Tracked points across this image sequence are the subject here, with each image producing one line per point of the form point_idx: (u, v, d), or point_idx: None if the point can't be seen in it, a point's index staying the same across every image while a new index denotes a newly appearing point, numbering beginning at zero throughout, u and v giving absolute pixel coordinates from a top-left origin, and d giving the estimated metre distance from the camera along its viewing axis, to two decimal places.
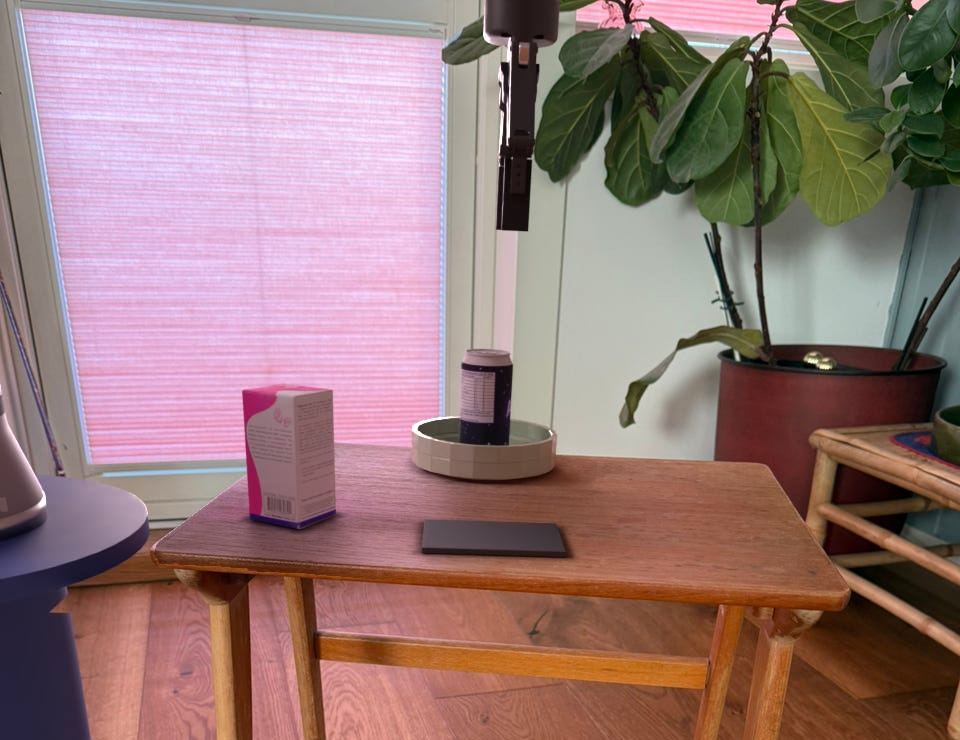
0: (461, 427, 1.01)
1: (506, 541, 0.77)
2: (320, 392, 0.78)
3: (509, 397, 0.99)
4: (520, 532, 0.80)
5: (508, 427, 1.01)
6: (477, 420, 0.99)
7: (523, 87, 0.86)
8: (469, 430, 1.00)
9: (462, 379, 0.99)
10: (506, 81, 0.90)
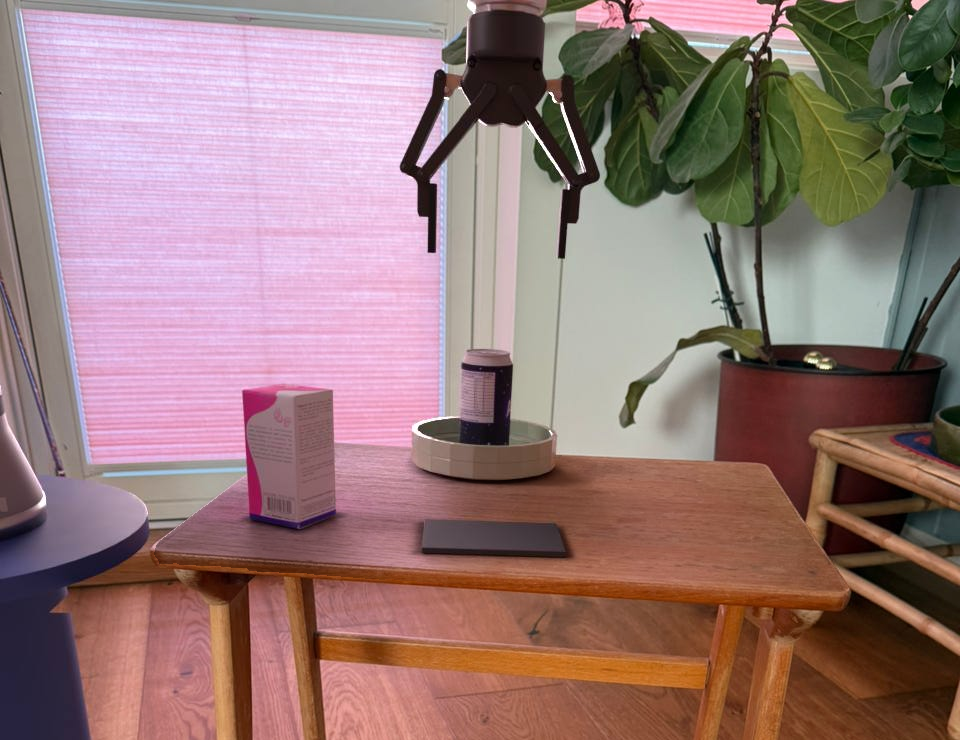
0: (461, 427, 1.01)
1: (506, 541, 0.77)
2: (320, 392, 0.78)
3: (509, 397, 0.99)
4: (520, 532, 0.80)
5: (508, 427, 1.01)
6: (477, 420, 0.99)
7: None
8: (469, 430, 1.00)
9: (462, 379, 0.99)
10: (535, 108, 0.89)
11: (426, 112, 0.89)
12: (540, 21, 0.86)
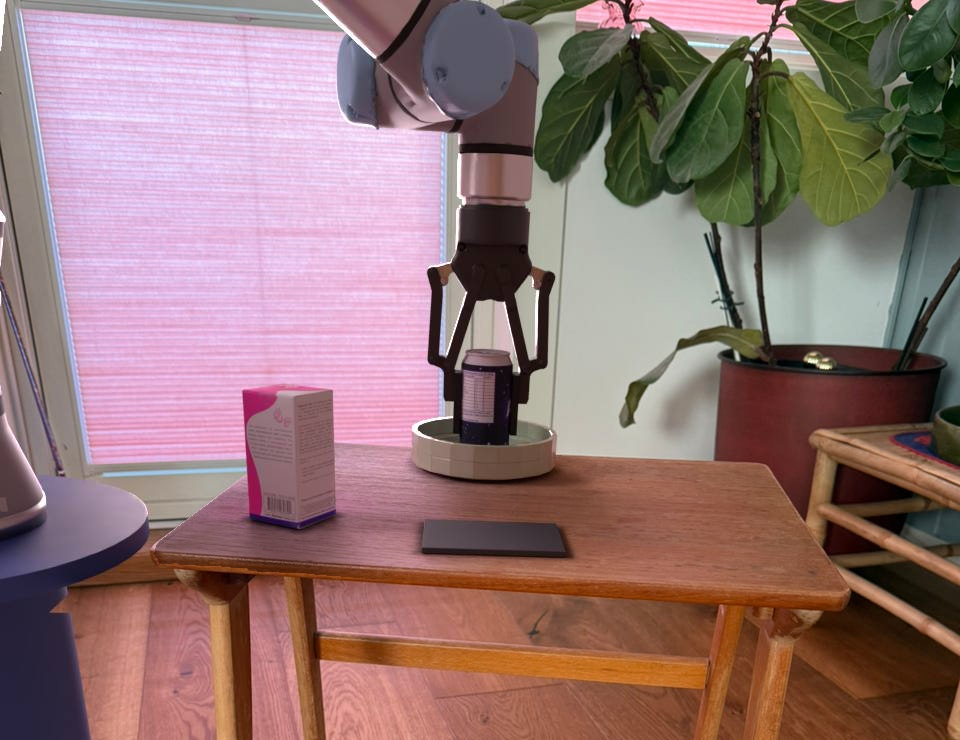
0: (461, 427, 1.01)
1: (506, 541, 0.77)
2: (320, 392, 0.78)
3: (509, 397, 0.99)
4: (520, 532, 0.80)
5: (508, 427, 1.01)
6: (477, 420, 0.99)
7: None
8: (469, 430, 1.00)
9: (462, 379, 0.99)
10: None
11: (432, 307, 0.95)
12: (526, 212, 0.91)
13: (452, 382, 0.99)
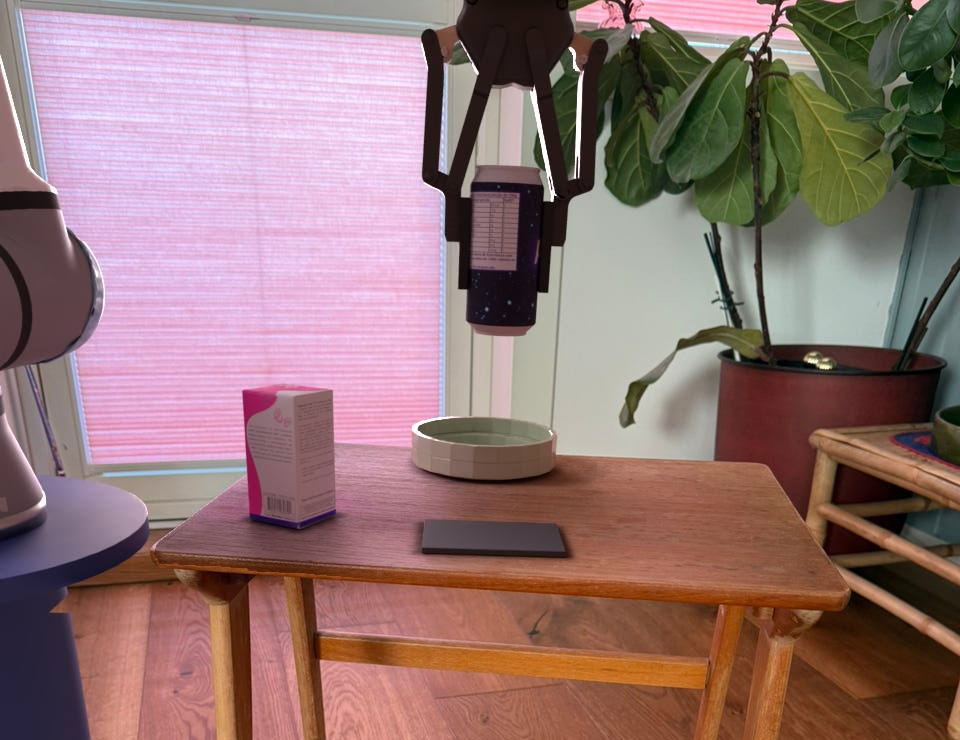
0: (470, 280, 0.71)
1: (506, 541, 0.77)
2: (320, 392, 0.78)
3: (538, 235, 0.70)
4: (520, 532, 0.80)
5: (536, 281, 0.71)
6: (493, 266, 0.69)
7: None
8: (482, 282, 0.70)
9: (472, 207, 0.69)
10: None
11: (429, 93, 0.66)
12: None
13: (457, 212, 0.69)
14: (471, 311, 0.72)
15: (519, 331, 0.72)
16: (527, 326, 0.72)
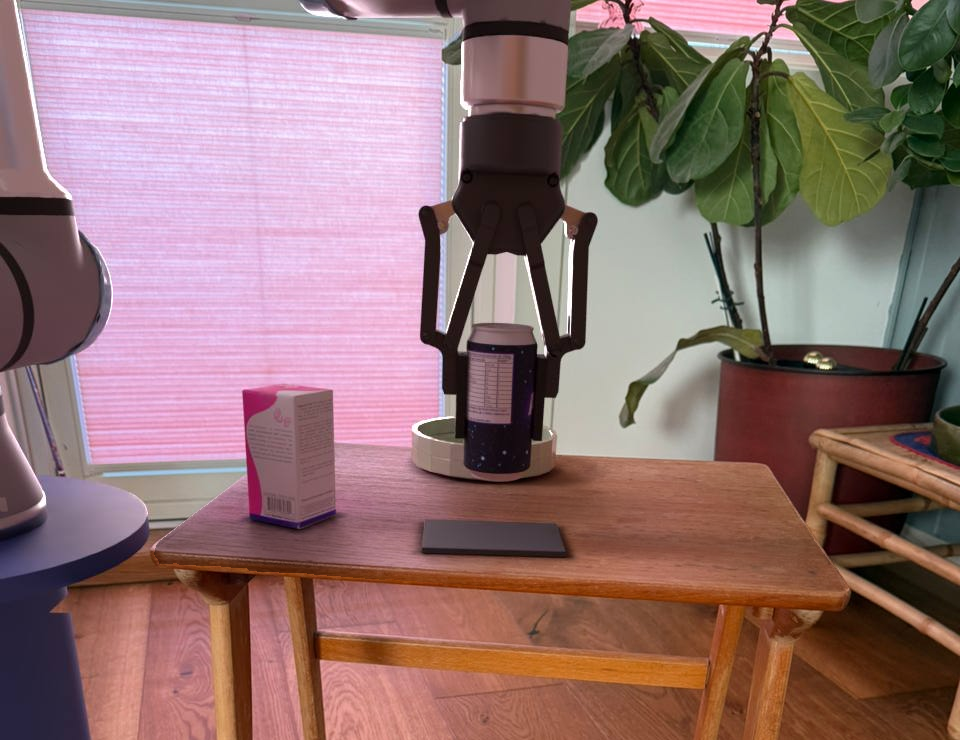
0: (466, 430, 0.74)
1: (506, 541, 0.77)
2: (320, 392, 0.78)
3: (532, 388, 0.73)
4: (520, 532, 0.80)
5: (530, 429, 0.74)
6: (488, 420, 0.72)
7: None
8: (478, 433, 0.73)
9: (468, 364, 0.72)
10: None
11: (426, 263, 0.69)
12: (558, 126, 0.64)
13: (454, 368, 0.72)
14: (467, 457, 0.75)
15: (514, 476, 0.75)
16: (521, 471, 0.75)
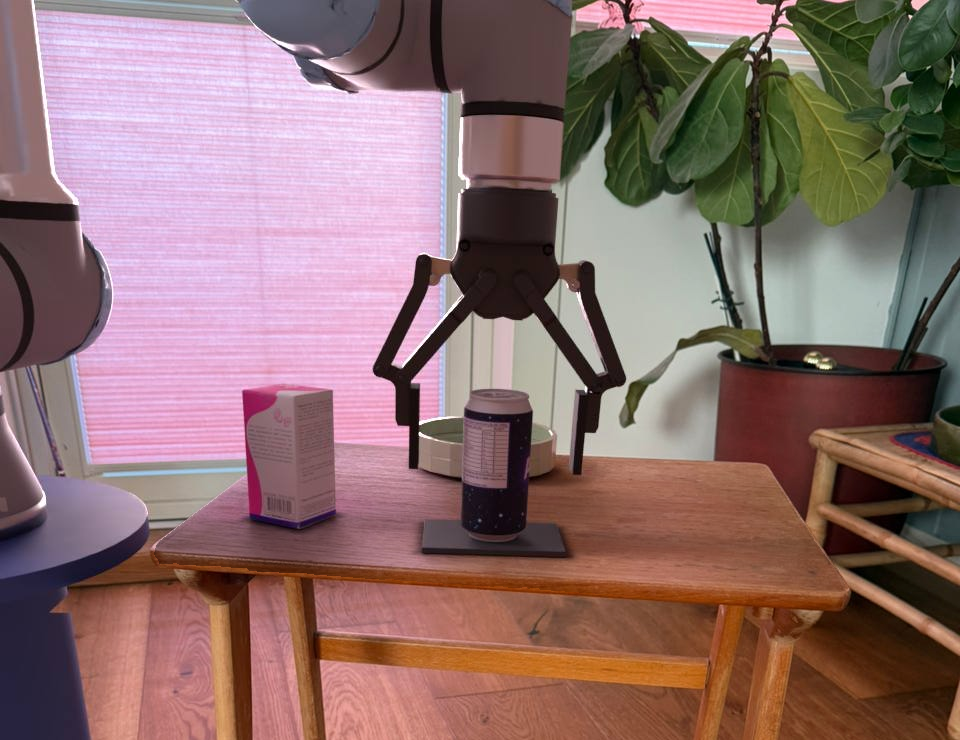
0: (464, 492, 0.76)
1: (506, 541, 0.77)
2: (320, 392, 0.78)
3: (528, 454, 0.75)
4: (520, 532, 0.80)
5: (526, 492, 0.76)
6: (485, 484, 0.74)
7: None
8: (475, 497, 0.75)
9: (465, 430, 0.74)
10: None
11: (406, 305, 0.70)
12: (553, 199, 0.66)
13: (407, 400, 0.73)
14: (465, 519, 0.77)
15: (510, 537, 0.77)
16: (517, 532, 0.77)
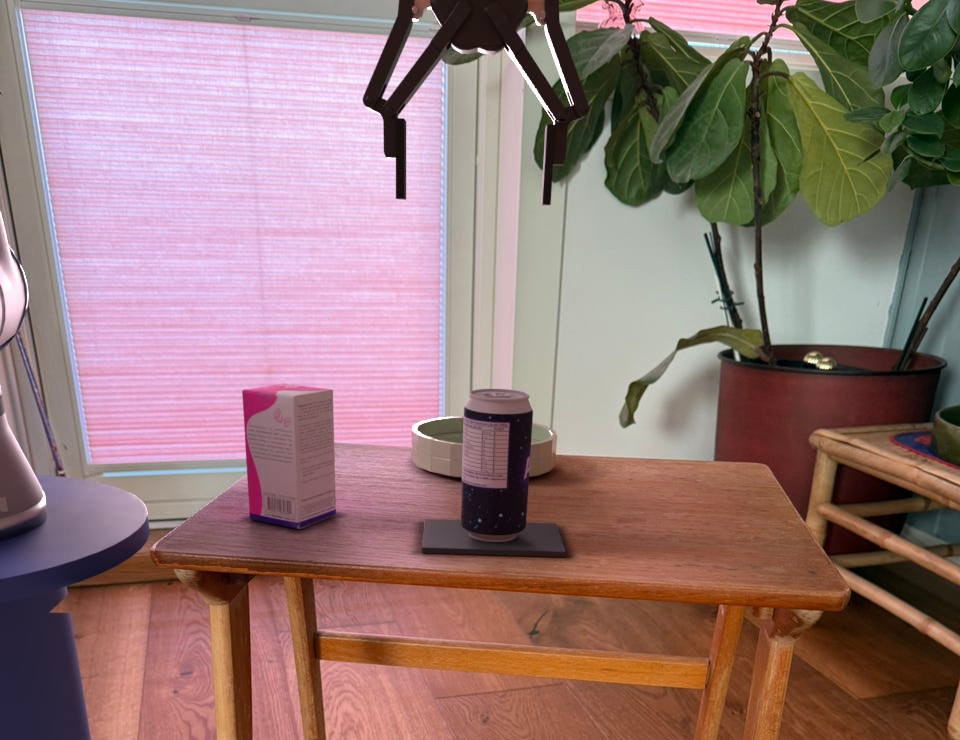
0: (464, 492, 0.76)
1: (506, 541, 0.77)
2: (320, 392, 0.78)
3: (528, 454, 0.75)
4: (520, 532, 0.80)
5: (526, 492, 0.76)
6: (485, 484, 0.74)
7: None
8: (475, 497, 0.75)
9: (465, 430, 0.74)
10: (514, 30, 0.78)
11: (391, 36, 0.79)
12: None
13: (394, 132, 0.82)
14: (465, 519, 0.77)
15: (510, 537, 0.77)
16: (517, 532, 0.77)
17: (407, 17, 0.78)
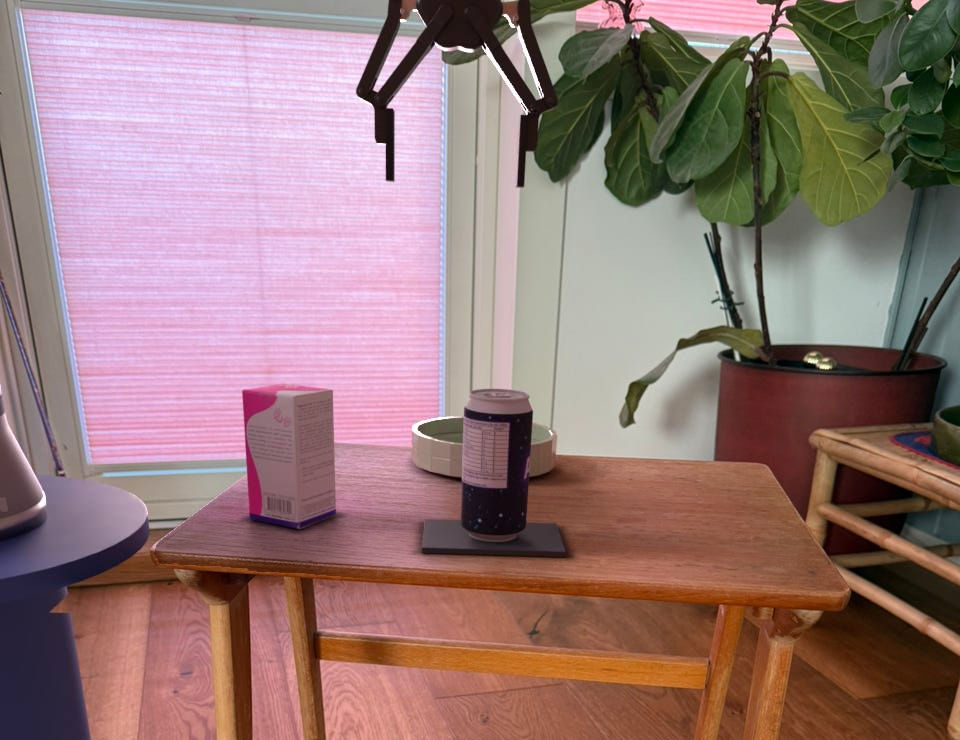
0: (464, 492, 0.76)
1: (506, 541, 0.77)
2: (320, 392, 0.78)
3: (528, 454, 0.75)
4: (520, 532, 0.80)
5: (526, 492, 0.76)
6: (485, 484, 0.74)
7: None
8: (475, 497, 0.75)
9: (465, 430, 0.74)
10: (491, 30, 0.89)
11: (382, 34, 0.89)
12: None
13: (384, 120, 0.92)
14: (465, 519, 0.77)
15: (510, 537, 0.77)
16: (517, 532, 0.77)
17: (396, 18, 0.88)
